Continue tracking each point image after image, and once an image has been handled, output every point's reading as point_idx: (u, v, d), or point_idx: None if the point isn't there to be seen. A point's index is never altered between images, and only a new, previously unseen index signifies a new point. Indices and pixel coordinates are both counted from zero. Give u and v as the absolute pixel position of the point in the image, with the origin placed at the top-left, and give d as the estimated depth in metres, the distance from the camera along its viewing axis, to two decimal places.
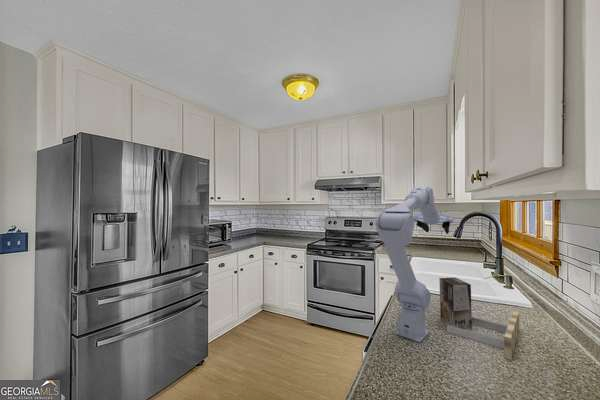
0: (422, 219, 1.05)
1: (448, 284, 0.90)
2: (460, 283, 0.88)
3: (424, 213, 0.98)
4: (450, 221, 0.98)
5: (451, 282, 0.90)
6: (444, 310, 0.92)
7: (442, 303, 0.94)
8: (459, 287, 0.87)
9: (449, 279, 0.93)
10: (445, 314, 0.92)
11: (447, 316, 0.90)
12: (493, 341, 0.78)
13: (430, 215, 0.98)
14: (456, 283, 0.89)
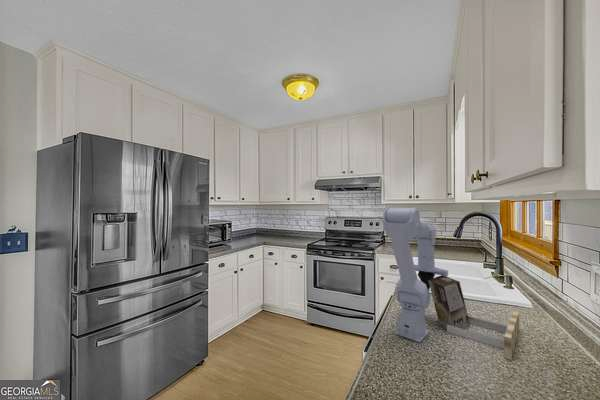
0: None
1: (439, 286, 0.89)
2: (449, 282, 0.88)
3: (421, 253, 0.97)
4: (444, 273, 0.93)
5: (441, 283, 0.90)
6: (440, 311, 0.92)
7: (436, 304, 0.93)
8: (450, 287, 0.87)
9: (438, 279, 0.93)
10: (442, 315, 0.91)
11: (444, 316, 0.90)
12: (493, 341, 0.78)
13: (426, 257, 0.96)
14: (446, 283, 0.88)
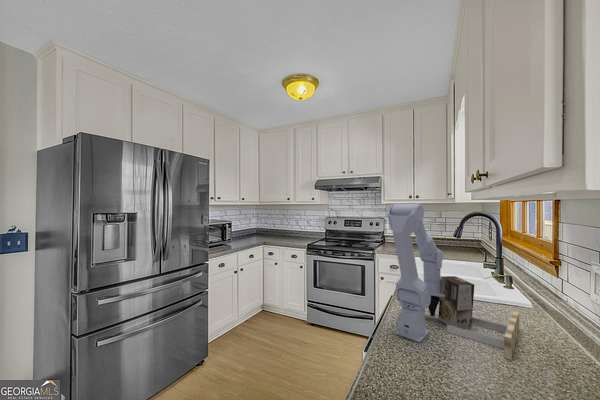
0: None
1: (452, 283, 0.89)
2: (464, 283, 0.88)
3: (427, 276, 0.95)
4: None
5: (455, 281, 0.89)
6: (445, 308, 0.92)
7: (442, 302, 0.93)
8: (464, 287, 0.87)
9: (451, 278, 0.93)
10: (446, 313, 0.91)
11: (448, 314, 0.90)
12: (493, 341, 0.78)
13: (433, 281, 0.94)
14: (460, 283, 0.88)
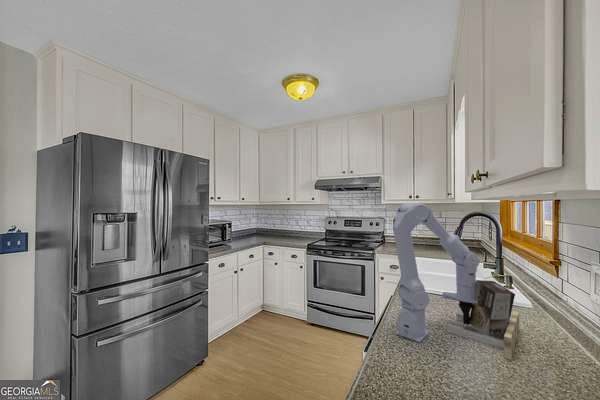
0: None
1: (488, 290, 0.81)
2: (503, 291, 0.79)
3: (457, 280, 0.90)
4: None
5: (492, 288, 0.81)
6: (477, 314, 0.85)
7: (475, 307, 0.86)
8: (502, 295, 0.78)
9: (488, 283, 0.84)
10: (477, 319, 0.85)
11: (480, 321, 0.84)
12: (493, 341, 0.78)
13: (468, 286, 0.86)
14: (498, 290, 0.80)
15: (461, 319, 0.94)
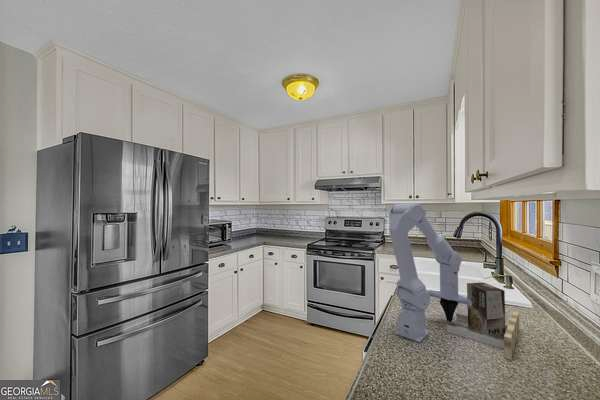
0: None
1: (479, 290, 0.83)
2: (493, 289, 0.82)
3: (441, 279, 0.92)
4: (470, 303, 0.87)
5: (482, 288, 0.83)
6: (474, 317, 0.86)
7: (471, 310, 0.87)
8: (493, 293, 0.81)
9: (478, 284, 0.87)
10: (475, 323, 0.85)
11: (478, 324, 0.84)
12: (493, 341, 0.78)
13: (450, 284, 0.90)
14: (488, 289, 0.82)
15: (461, 319, 0.94)
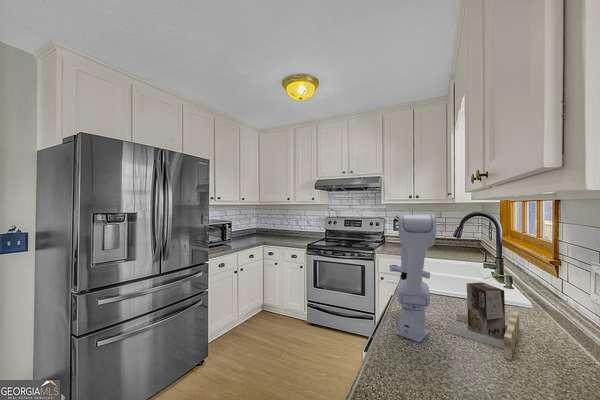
0: (399, 269, 1.00)
1: (479, 290, 0.83)
2: (492, 289, 0.82)
3: (407, 255, 0.96)
4: (426, 275, 0.93)
5: (482, 288, 0.83)
6: (474, 317, 0.86)
7: (471, 310, 0.87)
8: (492, 293, 0.81)
9: (478, 284, 0.87)
10: (475, 323, 0.85)
11: (478, 324, 0.84)
12: (493, 341, 0.78)
13: None
14: (488, 289, 0.82)
15: (461, 319, 0.94)
